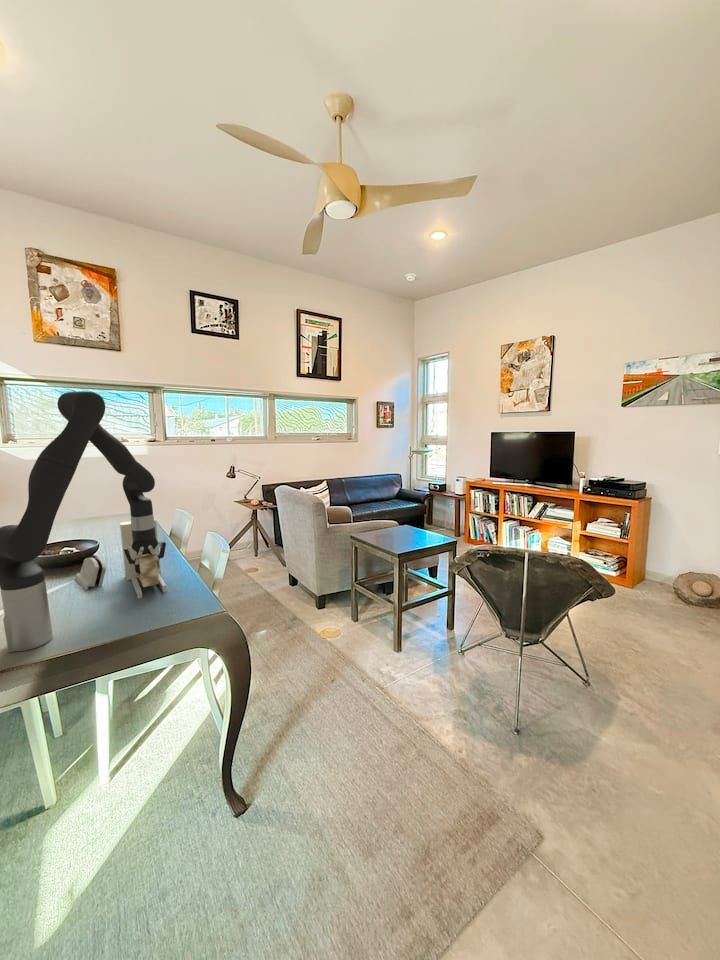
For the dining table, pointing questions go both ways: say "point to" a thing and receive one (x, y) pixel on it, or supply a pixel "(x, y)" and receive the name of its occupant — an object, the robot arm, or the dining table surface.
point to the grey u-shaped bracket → (130, 568)
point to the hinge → (91, 573)
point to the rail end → (148, 570)
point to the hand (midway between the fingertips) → (147, 571)
